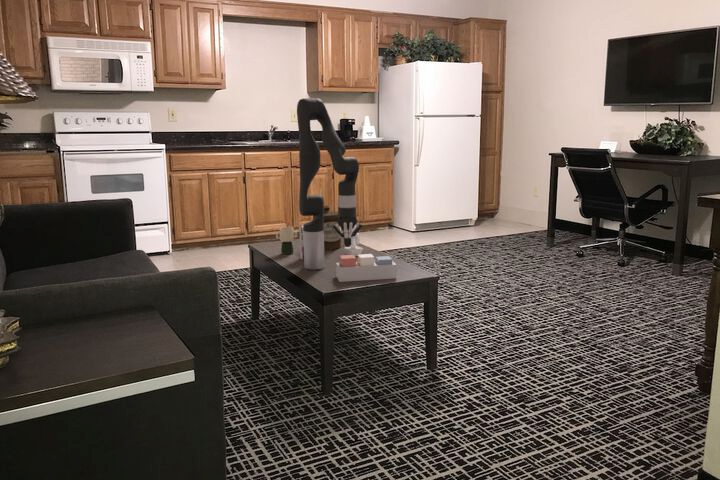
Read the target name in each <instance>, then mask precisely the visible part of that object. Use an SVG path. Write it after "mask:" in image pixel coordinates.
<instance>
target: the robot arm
mask: <svg viewBox="0 0 720 480" xmlns="http://www.w3.org/2000/svg"><path fill="white" fill-rule="evenodd" d="M296 117H297V118H296V120H297V126H298V127H297V128H298V141H299V142H298V145H299V147H298V149H299V151H298V152H299V154H298V157H299V158H298V160H299V162H298V163H299V202H298V205H299V207H298V209H299V213H300V215H301V216H302V217H309V216H310V217H311V216H312V217H313V216H315V215H316V217H315V218H314V219H313V218H312V220H310V221H308V222H306V223H304V224H303V225H302V226H303V235H304V260H303V263H304V265H303V266H304V267H303V268H305V269H306V270H315V271H316V270H321V269H324V268H325V265H326V264H325V250H324V206H325V199H324V198H323V195H322V194H310V195H309V194H308V192H309V188H310V186H311V184H312V181H313V180H314V178H315V177H316V176H317V173H318V172H319V170H320V168H321V149H320V147H319V144H318V143H317V141H316V140H315V138H314V136H313V133H312V130H311V128H312V127H311V121H318V123H319V124H320V126H321V130H322V131H321V132H322V134H321V139H322V144H323V147H324V148H325V149H326V152H327V153H328V155H329V156H330V160H331V164H332V168H333V170H334V172H335V173H337V174H338V175H340V176H343V175H345V177H344V179H342V180H339V182H338V184H337V185H338V187H337V188H338V189H337V190H338V191H337V192H338V196H337V212H338V220H337V223H336V224H335V225H333V226H332V227H333V228H334V229H335V230H336V232H337V233H338V234H339V235H340V236H341V238H343V245H344V246H345V247H350V246H351V238H352V237H353V236H356V234H357V233H358V234H359V232H360V230H361V229H362V227H363V224H362V223H360V222H358V219H357V197H356V183H357V180H358V176H359V175H358V174H359V171H360V164H359V161H358V159H357V158H356V157H354V156H347V157H346V156H344V155H345V153H346V150H347V149H346V147H345V145H344V143H343V142H342V140H341V138H340V137H339V135H338V133H337V131H336V130H335V127H334V125H333V123H332V119H331V117H330V115H329V112H328V109H327V107H326V105H325V104H324V102H323V100H322V99H321V98H318V97H311V98H308V97H307V98H305V97H304V98H301V99H299V100H298V102H297V105H296ZM338 225H339V226H340V227H341V230H342V231H341V232H340V231H339V230H338V228H339V227H338ZM355 225H356V228H355V230H354V231H353V232H352V229H353V228H354V226H355ZM347 230H348V234H347ZM342 232H343V233H342Z"/></svg>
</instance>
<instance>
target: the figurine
mask: <svg viewBox="0 0 720 480" xmlns="http://www.w3.org/2000/svg"><path fill="white" fill-rule="evenodd" d="M355 228H356V225H355V226H354V228H353V229H352V232H353V231H354V230H355ZM347 235H348V230H347ZM360 236H361V235H360V234H359V232H358V233H357V234H356V236H353V237H352V238H351V245H350V247H346V246H345V247H343V248H344V251H345V252H346V255H354V256H355V257H358V255H359V254H362V252H363V250H364V248H363V247H360V246H358V245H360V243H361V242H360V240H361V239H360V238H361V237H360Z"/></svg>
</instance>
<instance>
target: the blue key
mask: <svg viewBox="0 0 720 480" xmlns="http://www.w3.org/2000/svg"><path fill="white" fill-rule="evenodd" d="M374 261H375V263H376V264H377V265H388V264H392V261H393V258H392V257H390V256H389V255H385V256H383V255H382V256H374Z"/></svg>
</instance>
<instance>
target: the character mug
mask: <svg viewBox="0 0 720 480" xmlns="http://www.w3.org/2000/svg"><path fill="white" fill-rule="evenodd" d="M294 229H295V228H294V227H291V226H284V227H280V228H279V232H276V233H275V239H276V240H280V242H281V248H280V249H281V250H280V251H281V254H284V255H287V254H292V253H294V247H293V246H294V245H293V241H294V240H295V238H298V231H297V230H294Z"/></svg>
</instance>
